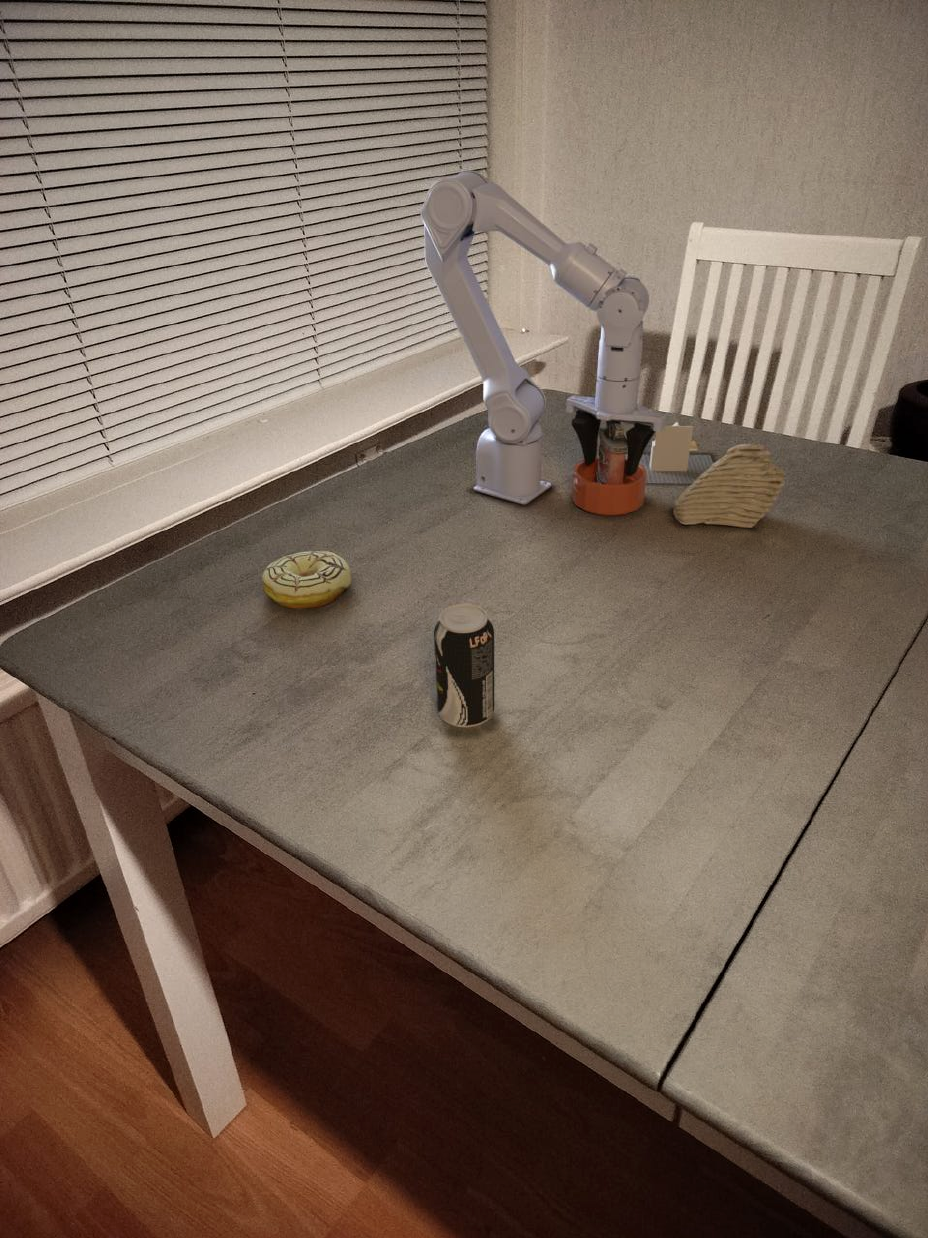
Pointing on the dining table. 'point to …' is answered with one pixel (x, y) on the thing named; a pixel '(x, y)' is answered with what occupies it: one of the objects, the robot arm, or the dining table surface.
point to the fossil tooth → (732, 489)
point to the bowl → (607, 491)
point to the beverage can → (464, 665)
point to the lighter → (611, 454)
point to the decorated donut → (306, 579)
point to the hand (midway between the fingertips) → (610, 468)
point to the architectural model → (674, 457)
